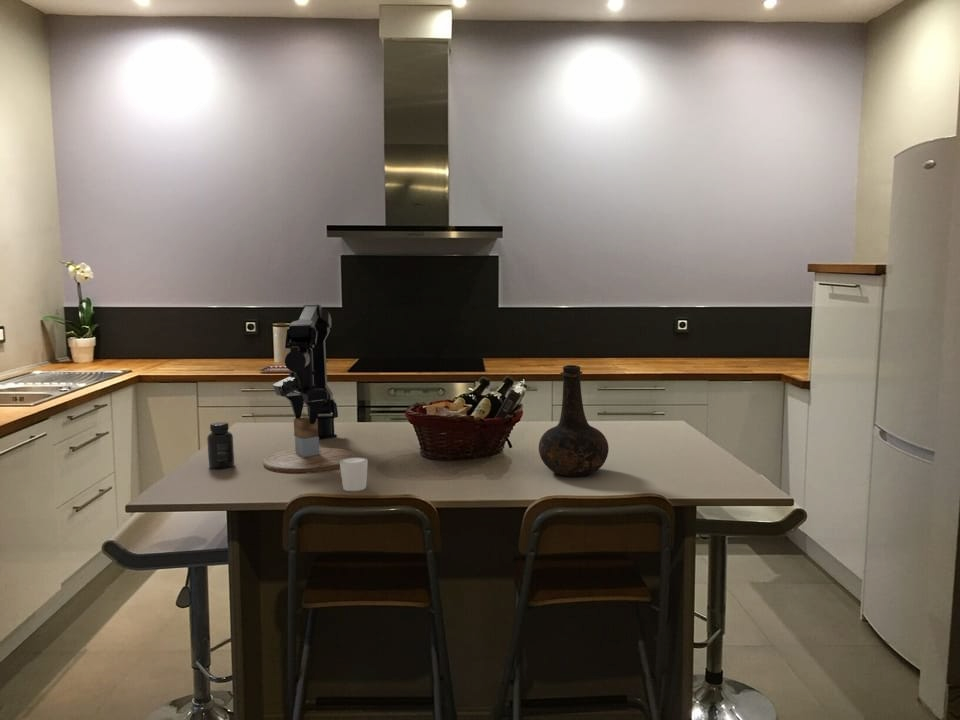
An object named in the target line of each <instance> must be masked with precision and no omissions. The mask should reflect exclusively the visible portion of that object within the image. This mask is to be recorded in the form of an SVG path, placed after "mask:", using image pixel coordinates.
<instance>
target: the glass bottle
mask: <svg viewBox="0 0 960 720" xmlns="http://www.w3.org/2000/svg"><path fill="white" fill-rule="evenodd" d="M582 374H583V372H582V371H581V366H580V365H575V364H573V365H572V364H568V365H563V367H562V372H560V373H559V375H560V376H562V399H561V401H562V402H561V413H560V418H559V422H558V424H557V425H555V426H553V427H551V428H549V429H547V430H546V431H545V432H544V433H543V434H542V436H541V437H540V440H539V442H538V454H539V457H540V459H541V461H542V462H543V464H544V466H546V467H547V469H549V470H550V471H551V472H553V473H555V474H557V475H560V476H565V477H583V476H589V475H592V474H594V473H595V472H597V471H599V470H600V469H601V468H602V467H603V465H604V464H605V462H606V460H607V458H608V456H609V450H610V449H609V442H608V440H607V438H606V436H605V435H604V434H603V433H602V432H601V431H600V430H599V429H598V428H595V427H594V426H591V425H590V424H589V423H588V420H587V417H586V414H585V410H584V404H583V398H582V397H583V396H582V388H581V387H582V384H581V375H582Z"/></svg>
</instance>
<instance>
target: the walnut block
mask: <svg viewBox="0 0 960 720" xmlns="http://www.w3.org/2000/svg"><path fill="white" fill-rule="evenodd" d="M293 431H294V432H293V434H294V435H293V436H294V437H299V438H302V439H303V438H309V437H316V436H318V419H316V421H315V423H314V424H310V420H309V417H308V416H304V417H300V418H295V417H294V418H293Z"/></svg>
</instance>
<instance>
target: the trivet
mask: <svg viewBox="0 0 960 720" xmlns="http://www.w3.org/2000/svg"><path fill="white" fill-rule="evenodd" d="M354 457H355V453H354V452H352V451H350V450H348V449H344V448H343V449H341V448H336V447H335V448H332V447H319V454H318V455H312V456H306V457H302V456H300V455H297V454H296V448H294V449H289V450H283V451H279V452H274V453H273V454H269V455H267V456H266V457H265V458H264V459H263V461H262V465H264V466H263V467H264V468H265V469H266V468H267V469H266V470H269V471H271V470H273V471H272V472H276V471H278V472H277V473H286V474H305V473H306V472H311V473H320V472H319V471H321V472H328V471H333V470H337V469H340V460H342V459H346V458H354ZM306 474H307V473H306Z"/></svg>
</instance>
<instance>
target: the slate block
mask: <svg viewBox="0 0 960 720" xmlns="http://www.w3.org/2000/svg"><path fill="white" fill-rule="evenodd" d="M294 443H295V444H294V446H295V448H294V449H296V454H297V455H300V456H302V457H306V456H312V455H318V454H319V448H320V439H319V437H317V436H316V437H309V438H303V439H302V438H299V437H296V436H294Z"/></svg>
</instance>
